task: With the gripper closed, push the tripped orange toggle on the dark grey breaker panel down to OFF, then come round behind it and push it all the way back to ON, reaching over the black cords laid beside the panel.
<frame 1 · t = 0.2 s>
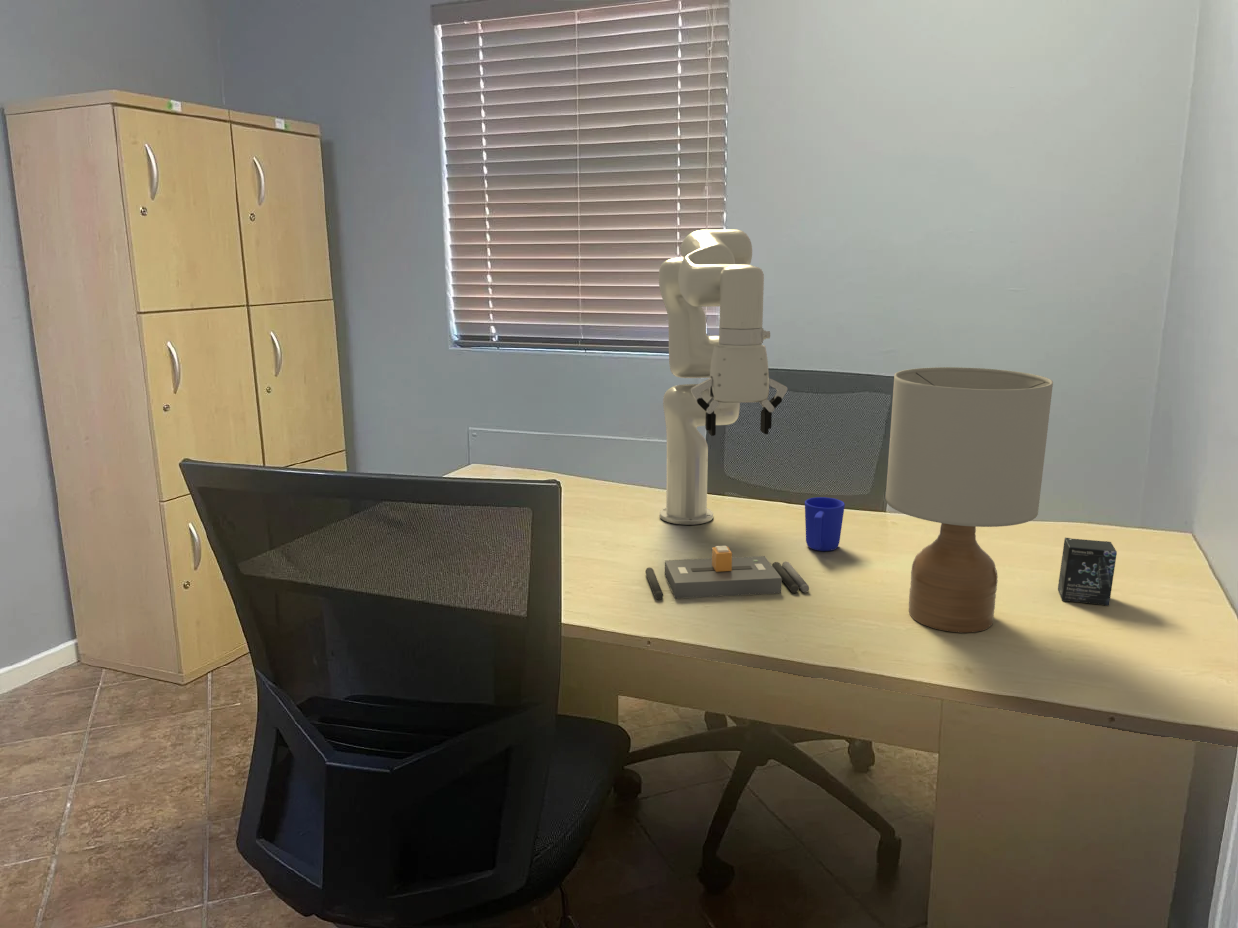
hand: (738, 433, 162), 30 cm above the table, fingers open, 9 cm apart
breaker panel: (721, 583, 172), on the table
mug: (820, 551, 191), on the table
cord C: (654, 586, 171), on the table
cord B: (795, 580, 174), on the table
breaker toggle: (721, 557, 171), point 5 cm above the table, slide at 4.0 cm
cord A: (784, 580, 174), on the table
lamp: (949, 617, 157), on the table
box: (1082, 599, 165), on the table
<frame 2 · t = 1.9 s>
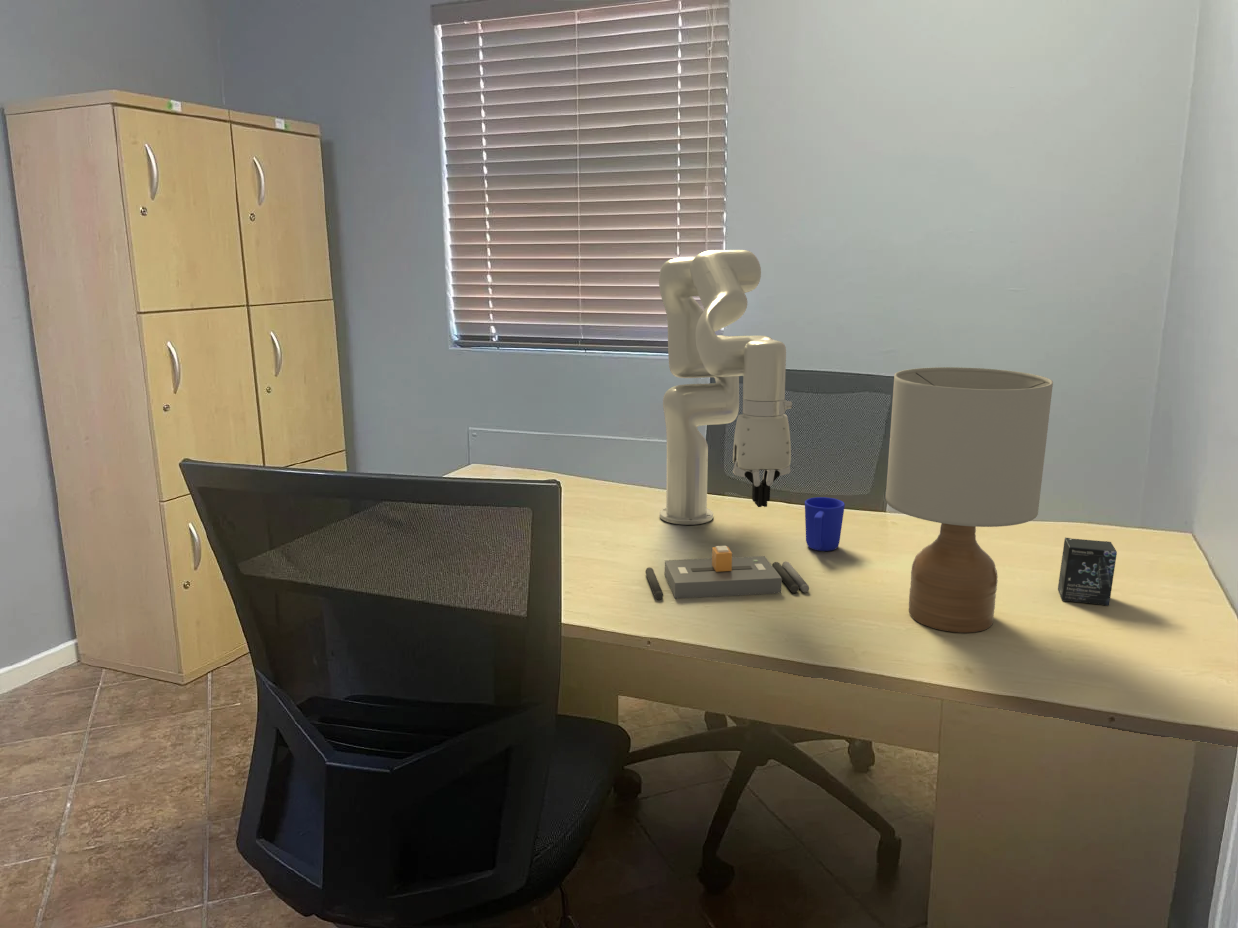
hand: (760, 504, 169), 16 cm above the table, fingers closed
nothing on the table moved.
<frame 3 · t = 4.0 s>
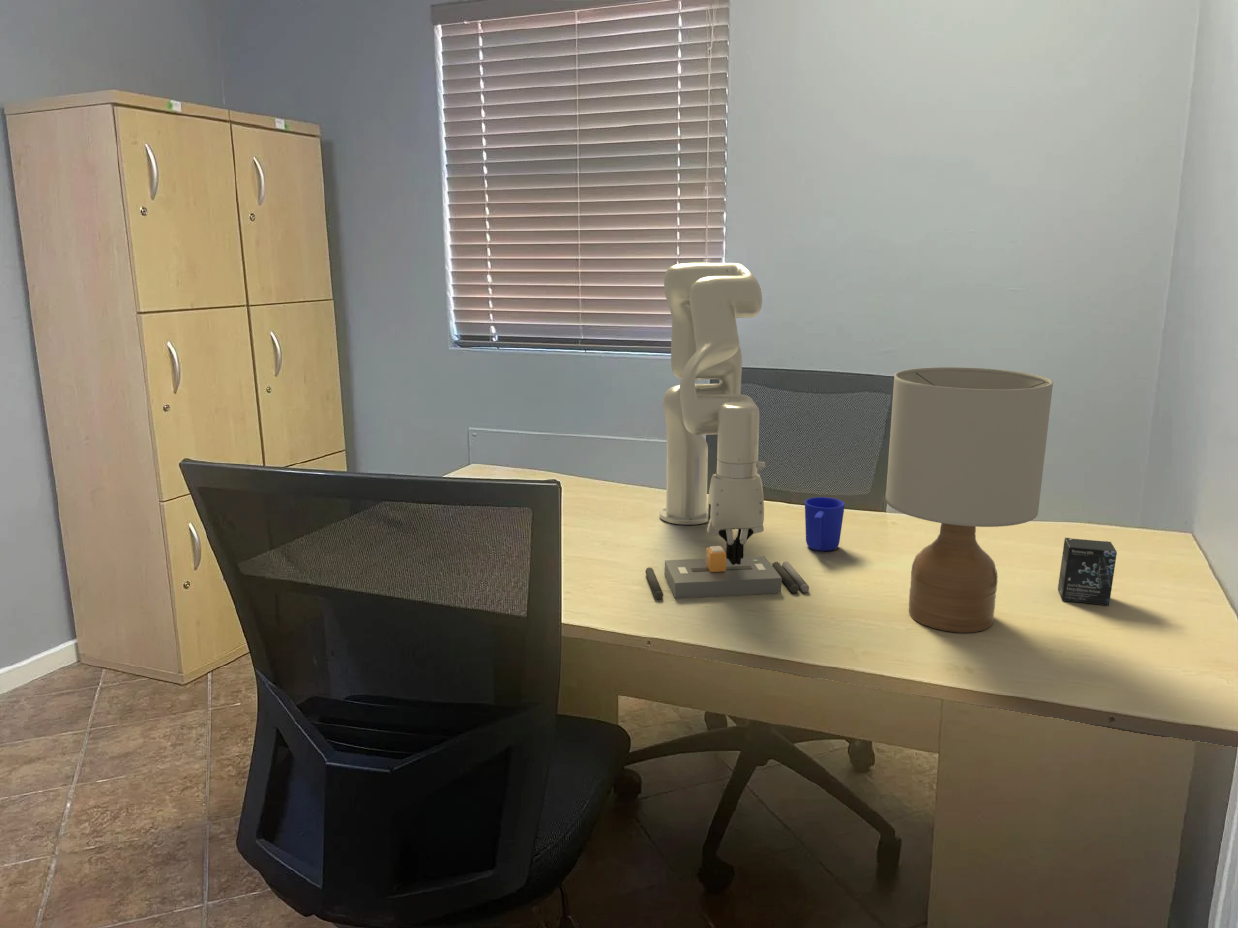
hand: (734, 561, 172), 4 cm above the table, fingers closed
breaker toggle: (716, 558, 171), point 5 cm above the table, slide at 2.9 cm, touching gripper
everything else where it was.
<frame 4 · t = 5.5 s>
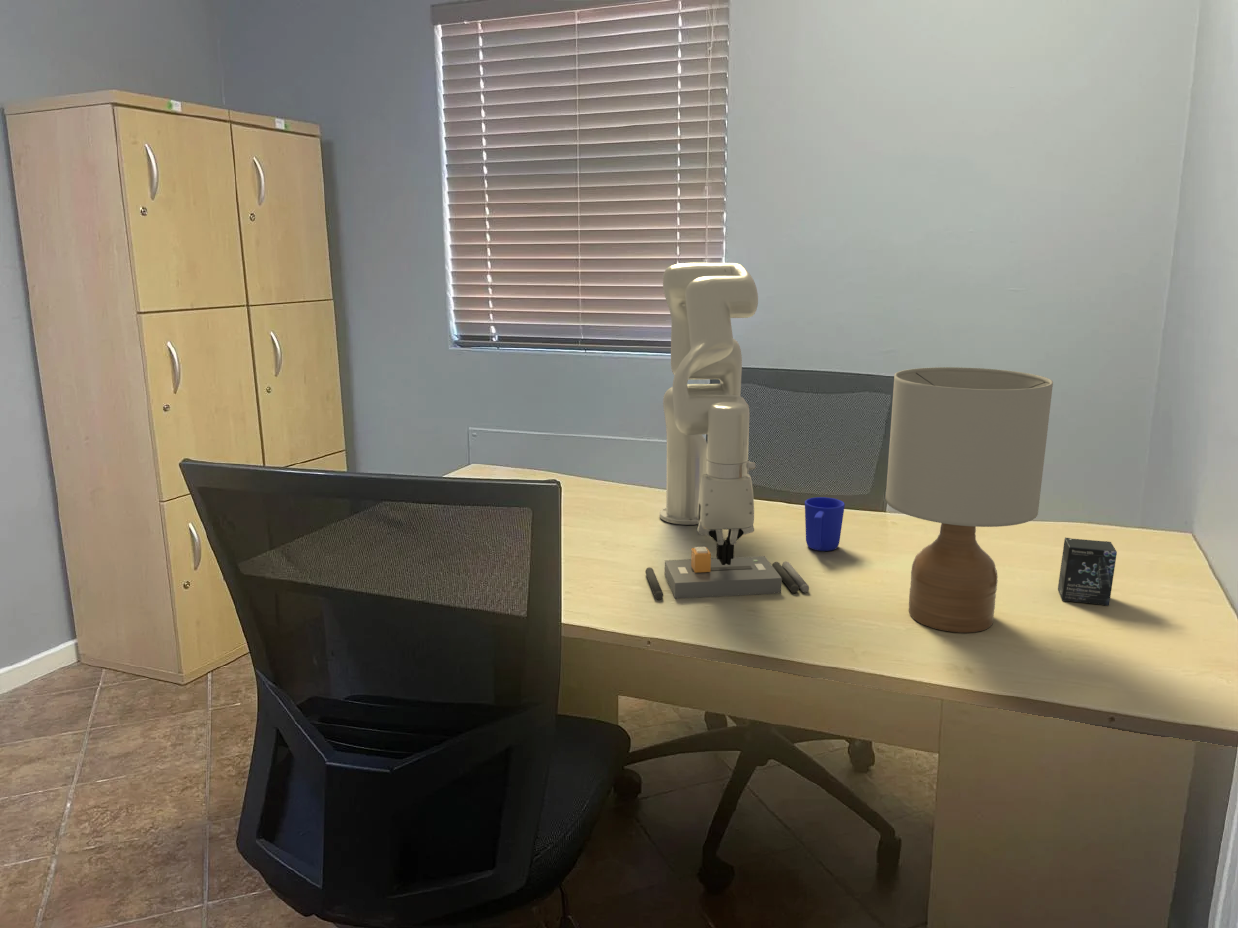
hand: (724, 562, 171), 4 cm above the table, fingers closed
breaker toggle: (700, 558, 171), point 5 cm above the table, slide at 0.0 cm
everything else where it was.
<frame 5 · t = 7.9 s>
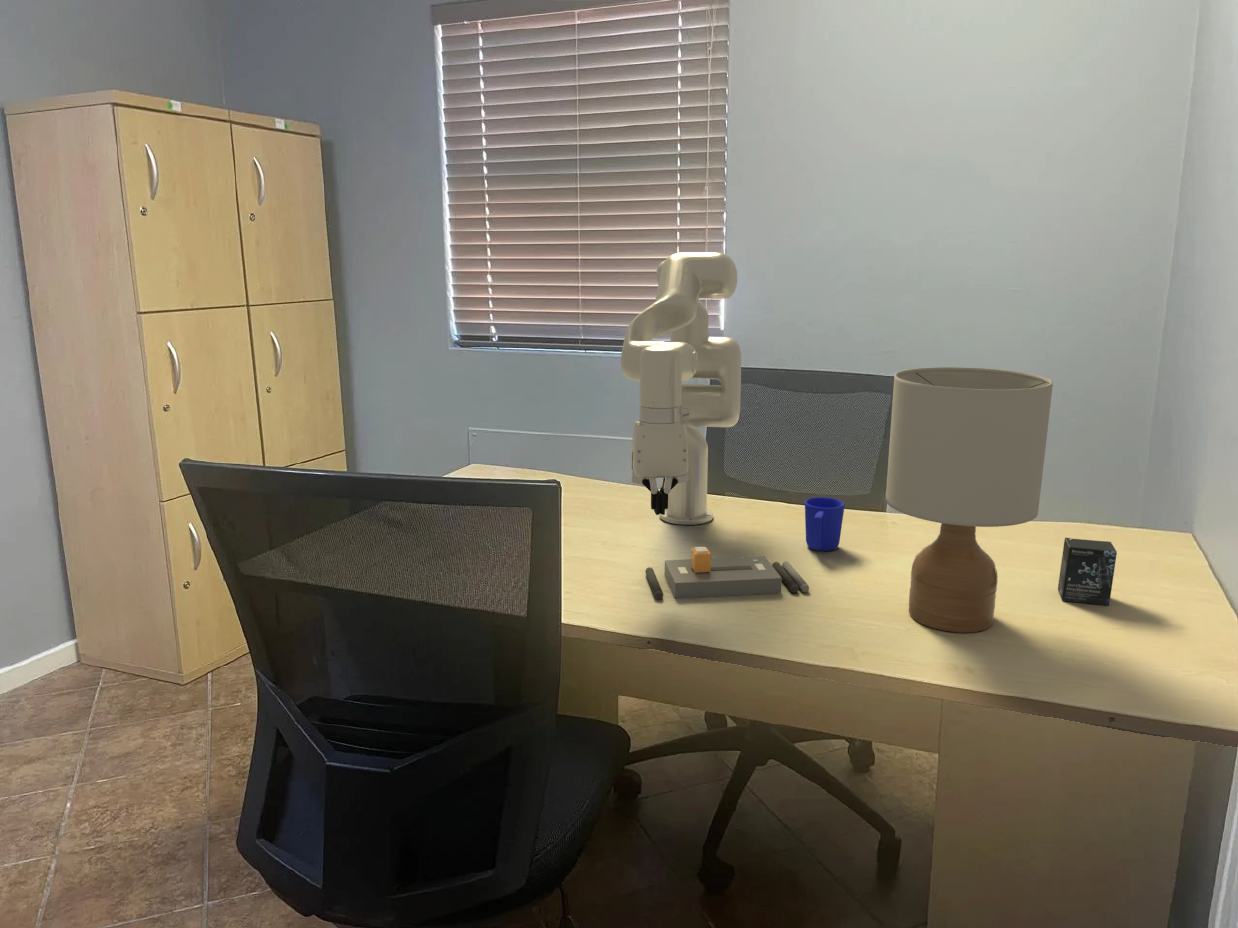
hand: (659, 512, 167), 15 cm above the table, fingers closed
nothing on the table moved.
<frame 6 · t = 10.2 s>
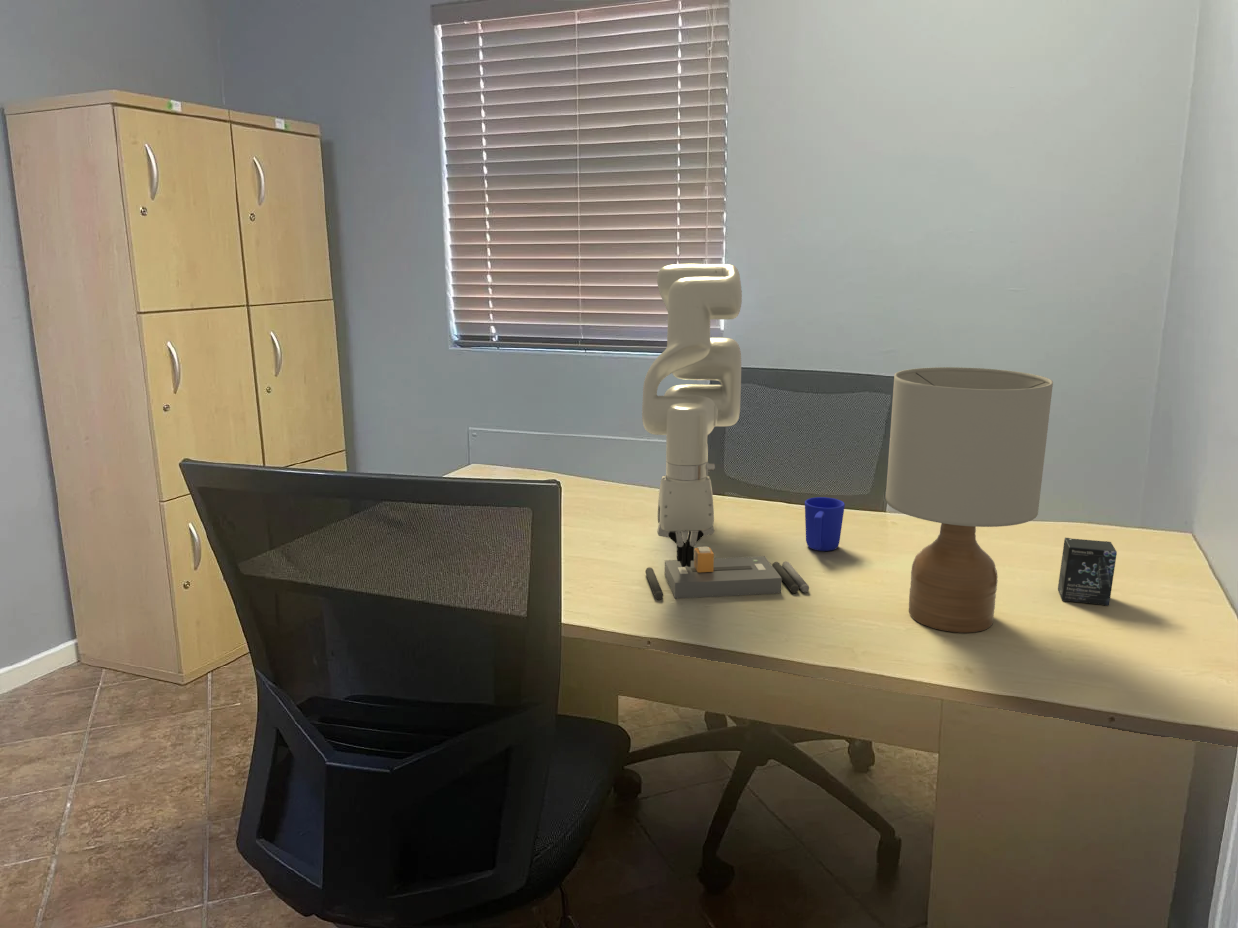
hand: (685, 564, 171), 4 cm above the table, fingers closed
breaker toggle: (703, 558, 171), point 5 cm above the table, slide at 0.5 cm, touching gripper
everything else where it was.
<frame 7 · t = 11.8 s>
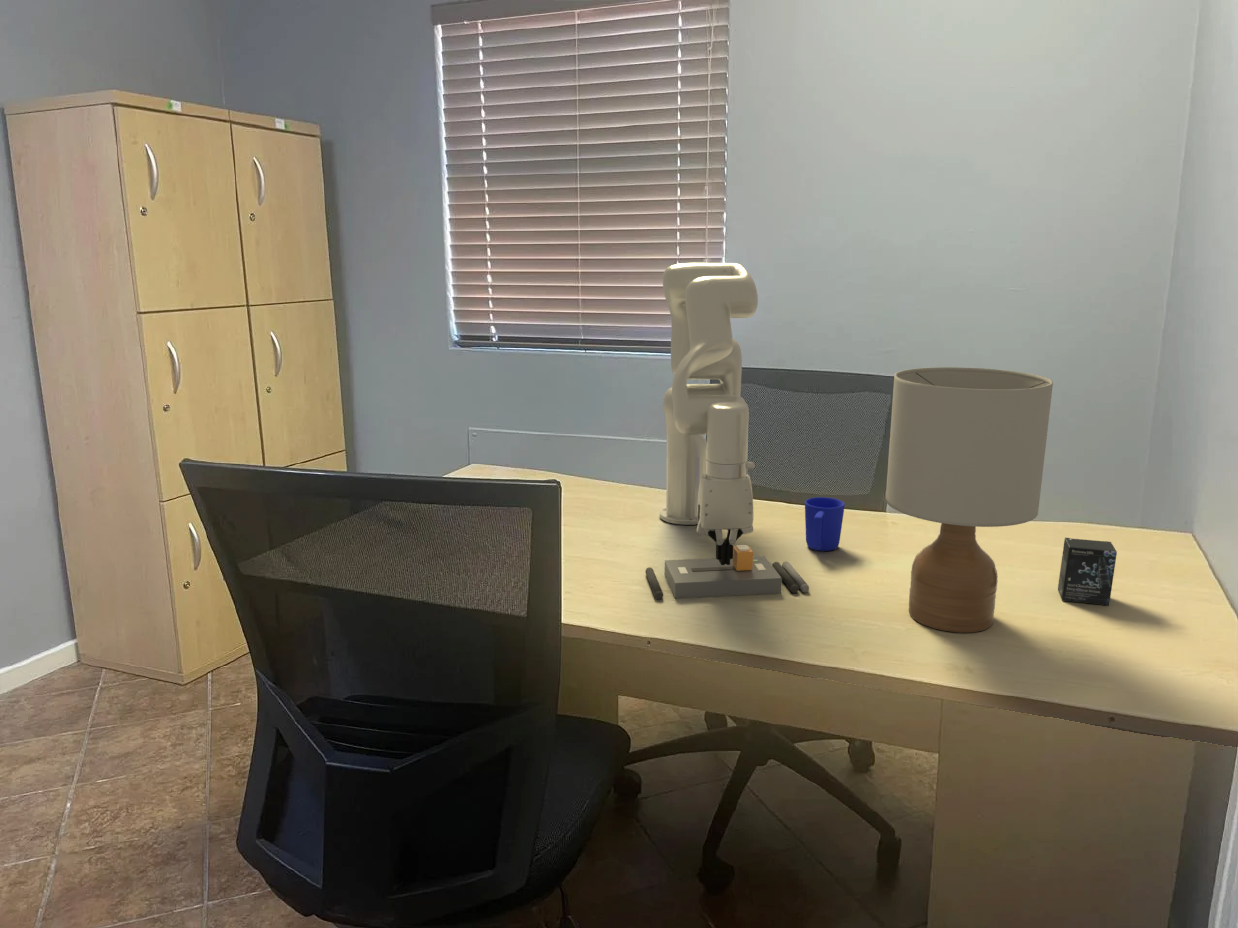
hand: (724, 562, 171), 4 cm above the table, fingers closed
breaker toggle: (742, 557, 172), point 5 cm above the table, slide at 8.0 cm, touching gripper
everything else where it was.
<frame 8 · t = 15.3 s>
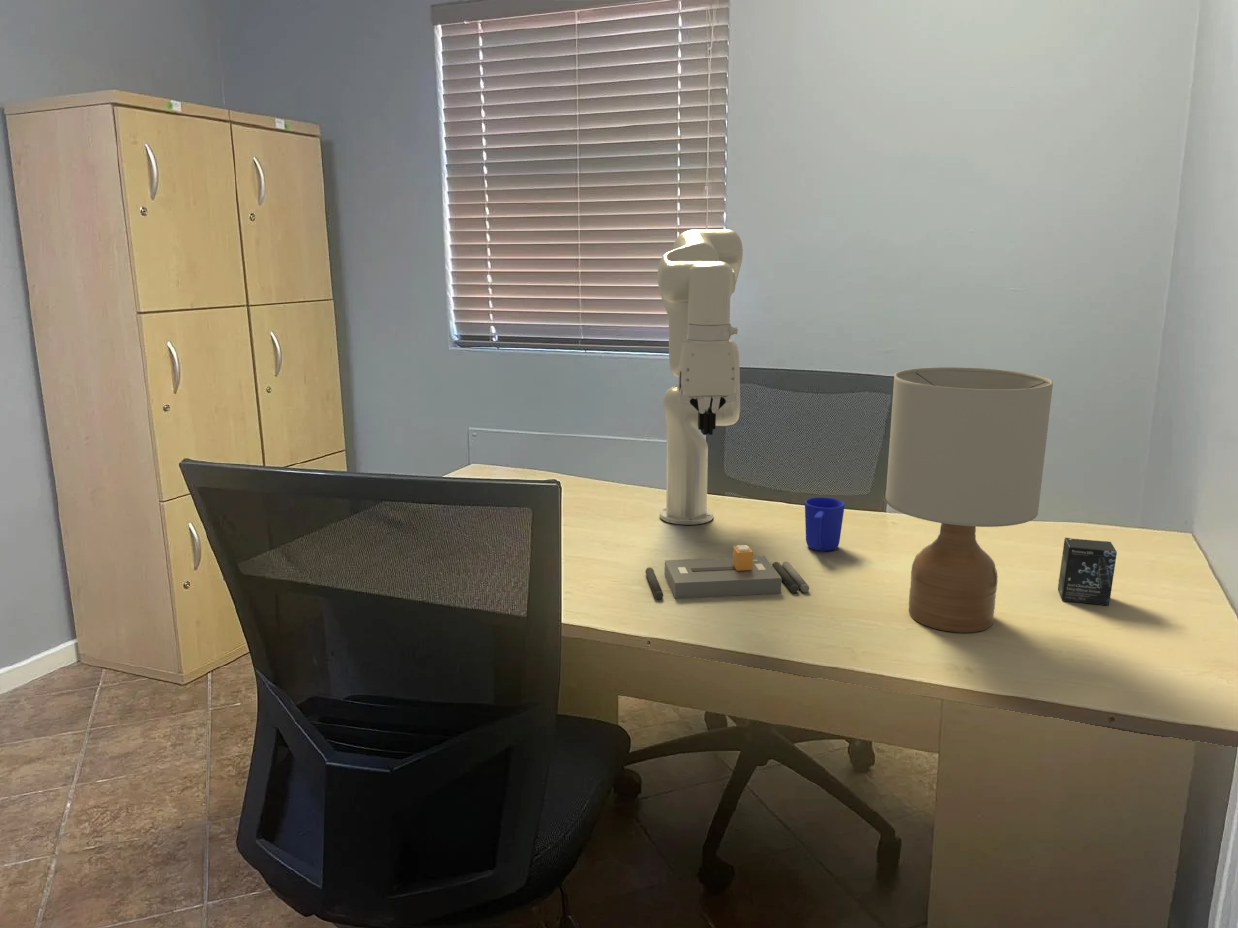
hand: (706, 433, 167), 29 cm above the table, fingers closed
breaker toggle: (742, 557, 172), point 5 cm above the table, slide at 8.0 cm
everything else where it was.
at the end: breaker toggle slide at 8.0 cm; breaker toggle touching nothing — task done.
